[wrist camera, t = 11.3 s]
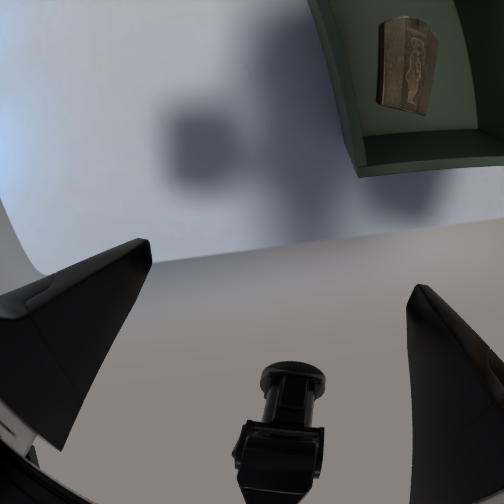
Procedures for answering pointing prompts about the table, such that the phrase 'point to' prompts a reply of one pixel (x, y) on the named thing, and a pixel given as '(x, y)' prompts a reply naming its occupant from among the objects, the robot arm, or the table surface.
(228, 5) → the table surface
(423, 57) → the block
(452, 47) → the bin
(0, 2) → the table surface
